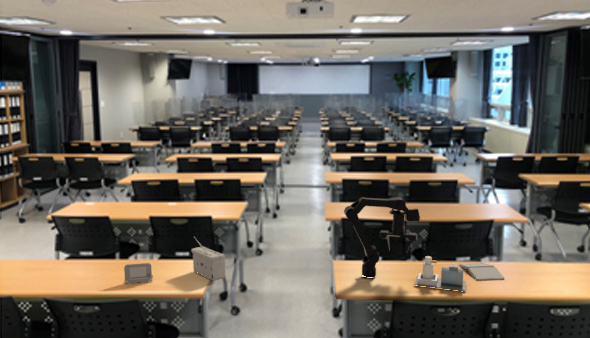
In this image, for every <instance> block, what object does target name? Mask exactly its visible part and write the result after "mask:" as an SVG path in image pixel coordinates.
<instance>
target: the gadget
mask: <svg viewBox="0 0 590 338" xmlns="http://www.w3.org/2000/svg"><path fill="white" fill-rule="evenodd" d="M458 267H460V268H461V269H465V270H467V271H468V273H469V274H470V276H471V277H472V278H473V280H475V279H476V280H475V281H498V280H505V277H504V275H503V274H502V273H501V272H500V270H498V268H497V267H496V266H494V265H493V264H490V263H486V262H470V263H469V262H467V263H458Z"/></svg>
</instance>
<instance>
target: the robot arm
mask: <svg viewBox="0 0 590 338" xmlns="http://www.w3.org/2000/svg"><path fill="white" fill-rule="evenodd" d="M366 207H378V208H388V209H391V210H390V211H389V212H388V213H389V215H392V223H391V230H392V232H389V230H386V229H385V230H384V229H381V230H380V231H379V235H378V236H379V238H380V239H381V240H382V241H384V243H385V246H386V248H387V250H388V252H390V249H391V247H390V237H392V238H403V239H404V238H405V239H408V240H407V242H406V243H407V244H406V253H408V252H409V249H410V246H411V244H412V243H415V242H416V241H417V240H418V233H417V232H409V233H406V225H405V221H406V222H407V223H419V222H420V220H421V215H420V211H419V208H408V207H407V204H406V201H405V200H404V199H403V198H401V197H399V196H397V197H390V198H378V197H376V198H373V197H364V196H363V197H362V196H361V197H360V198H358V200H356V201H354V202H352V203H351V204H349V205H347V206H346V207H345V208H344V209H343V213H344V215H345V217H346V218H347V220H348V221H349V222H350V224H351V225H352V226H353V228H354V230H355V232H356V234H357V236H358V238H359V240H360V242H361V244H362V246H363V250H364V254H365V255H364V256H363V257H362V258H361V261H362V265H361V276H362V275H364V276H366V277H374V278H375V277H376V276H377V267H376V265H377V264H378V262H379V260H380V253H379V252H378V249H377V247H376V246H375V245H372V244H371V243H370V240H369V238H368V236H367V235H366V233H365V231H364V228H363V227H362V225H361V223H360V218H359V213H360V212H362V210H364V208H366Z"/></svg>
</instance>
